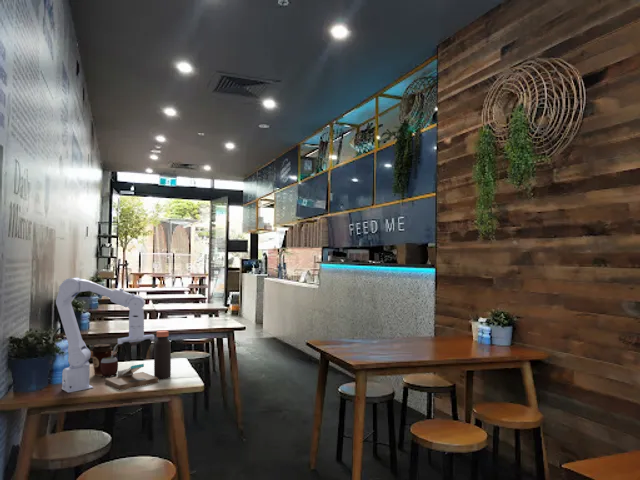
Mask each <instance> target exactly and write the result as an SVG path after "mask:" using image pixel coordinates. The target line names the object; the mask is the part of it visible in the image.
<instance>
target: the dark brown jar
mask: <svg viewBox="0 0 640 480" xmlns="http://www.w3.org/2000/svg"><path fill="white" fill-rule="evenodd" d="M90 352H92V354H91V355H92V364H93V370H94V375H95V376H99V377H102V373H101V366H100V365H101V361H102V359H103V358H107V357H111V356H112V353H113V347H112V345H111V344H110V343H108V344H107V343H98V344H94V345H93V346H92V348H91V349H90Z"/></svg>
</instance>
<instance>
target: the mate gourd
mask: <svg viewBox="0 0 640 480" xmlns="http://www.w3.org/2000/svg"><path fill="white" fill-rule="evenodd" d="M118 346H119V344H118V343H117V344H115V346H114V347H113V349H112V353H111V357H107V358H103V359H102V361H101V365H100V366H101V373H102V376H101V378H112V377H118V370H119V361H118V358H117V357H116V356H114V354H115V351H116V349H117V347H118Z"/></svg>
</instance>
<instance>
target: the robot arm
mask: <svg viewBox="0 0 640 480" xmlns="http://www.w3.org/2000/svg"><path fill="white" fill-rule="evenodd" d="M82 292H83V293H84V292H91V293H95V294H97V295H101V296H104V297H106V298H109V300H110V302H111V303H114V304H116V305H119V306H121V307H125V308H128V310H129V313H128V314H129V315H128V336H125V337H120V338H117V344H118V345H120V346H121V348H122V350H123V352H124V354H125V360H126V361H127V362H130V361H131V357H132V355H131V351H132V344H131V343H134V342H135V343H136V342H140V344H141V358H142V359H146V358H147V354H148V351H149V348H150V346H151V344H152V342H153V341H152V340H155V334H152V333H151V334H145V314H144V312H145V311H144V307H145V303H146V302H145V299H144V298H143V297H142V296H140V295H135V293H134V292H132V293H131V292H130V293H129V292H128V291H125V290H124V289H123V288H116V289H111V288H109V287H106V286H103V285H101V284H99V283H96V282H94V281H91V280H89V279H85V278H81V277H72V278H71V277H69V278H66V279H64V280H63V281H62V283H61V284H60V285H59V286H58V293H57V295H56V299H55V305H56V307H57V311H58V314H59V318H60V320H61V324H62V328H63V330H64V333H65V338H66V341H67V343H68V346H67V352H68V357H67V361H68V364H69V366H68V367H65V368H63V369H62V372H61V373H62V377H61V381H62V382H61V389H62V390H63V391H64V392H66V393H74V392H79V391H84V390H88V389H93V388H94V386H92V385H90V380H91V379H90V374H91V373H90V372H91V371H90V370H91V368H90V366H91V365H90V362H89V360H90V359H91V355H92V351H91V349H89V348H88V347H87V345H86V342H85V341H84V340H83V337H82V335H81V334H82V333H81V331H80V328H79V324H78V321H77V318H76V315H75V311H74V308H73V304H72V303H73V300H74V299H75V298H76V296H77V295H78V294H80V293H82Z"/></svg>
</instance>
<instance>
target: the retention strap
mask: <svg viewBox="0 0 640 480" xmlns="http://www.w3.org/2000/svg"><path fill="white" fill-rule="evenodd" d="M144 365H145V364H144V363H141V364H133V365H131V366H130V367H129V368H126V369H127V370H126V371H124V372H123V373H121V376H122V375H127V374H132V373H133V374H134V373H136V372H137V371H138V370H140V369H141V368H143V367H144Z"/></svg>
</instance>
